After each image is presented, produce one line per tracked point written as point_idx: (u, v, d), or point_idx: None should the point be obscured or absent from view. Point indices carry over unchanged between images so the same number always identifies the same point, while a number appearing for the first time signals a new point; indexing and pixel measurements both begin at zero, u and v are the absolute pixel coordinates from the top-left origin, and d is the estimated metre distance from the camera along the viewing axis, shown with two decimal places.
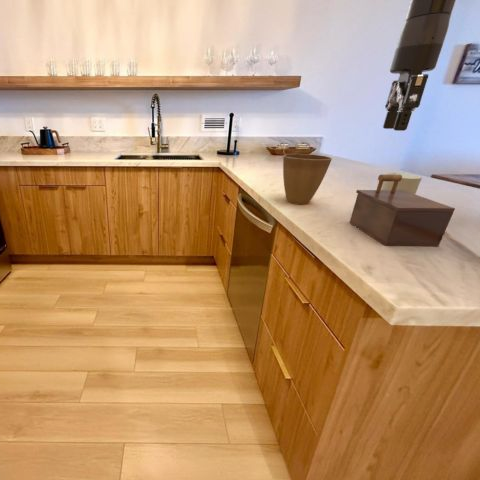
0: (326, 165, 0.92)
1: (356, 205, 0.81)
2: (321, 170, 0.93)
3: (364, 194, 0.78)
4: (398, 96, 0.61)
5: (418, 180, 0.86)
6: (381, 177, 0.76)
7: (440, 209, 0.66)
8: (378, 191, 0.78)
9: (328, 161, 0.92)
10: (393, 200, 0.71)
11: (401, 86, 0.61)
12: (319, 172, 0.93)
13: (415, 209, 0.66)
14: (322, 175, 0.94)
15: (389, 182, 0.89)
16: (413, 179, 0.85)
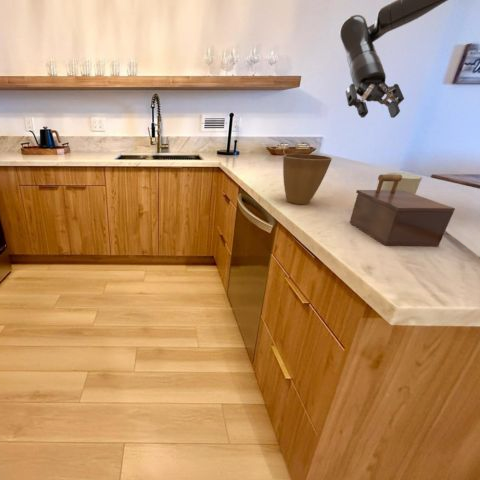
0: (326, 165, 0.92)
1: (356, 205, 0.81)
2: (321, 170, 0.93)
3: (364, 194, 0.78)
4: None
5: (418, 180, 0.86)
6: (381, 177, 0.76)
7: (440, 209, 0.66)
8: (378, 191, 0.78)
9: (328, 161, 0.92)
10: (393, 200, 0.71)
11: (361, 96, 0.84)
12: (319, 172, 0.93)
13: (415, 209, 0.66)
14: (322, 175, 0.94)
15: (389, 182, 0.89)
16: (413, 179, 0.85)
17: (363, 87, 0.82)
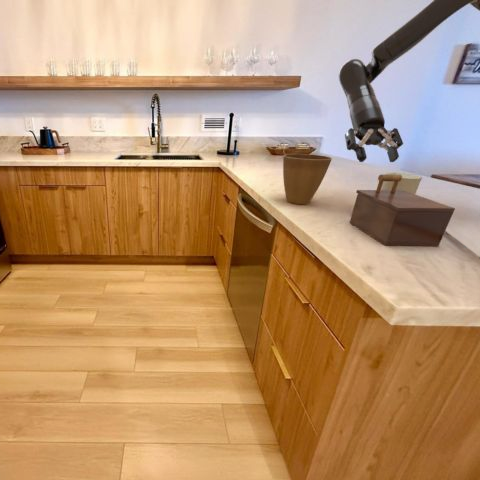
0: (326, 165, 0.92)
1: (356, 205, 0.81)
2: (321, 170, 0.93)
3: (364, 194, 0.78)
4: None
5: (418, 180, 0.86)
6: (381, 177, 0.76)
7: (440, 209, 0.66)
8: (378, 191, 0.78)
9: (328, 161, 0.92)
10: (393, 200, 0.71)
11: None
12: (319, 172, 0.93)
13: (415, 209, 0.66)
14: (322, 175, 0.94)
15: (389, 182, 0.89)
16: (413, 179, 0.85)
17: (362, 131, 0.83)
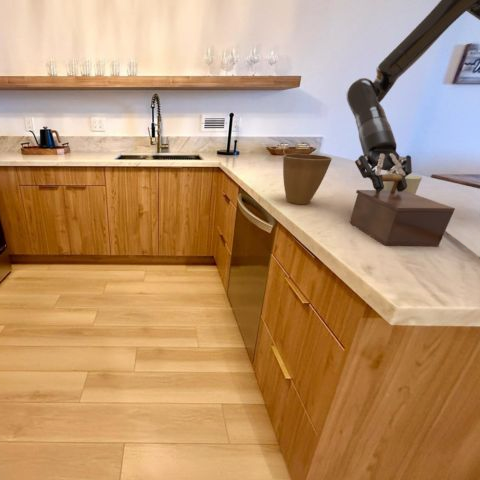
0: (326, 165, 0.92)
1: (356, 205, 0.81)
2: (321, 170, 0.93)
3: (364, 194, 0.78)
4: None
5: (418, 180, 0.86)
6: None
7: (440, 209, 0.66)
8: (378, 191, 0.78)
9: (328, 161, 0.92)
10: (393, 200, 0.71)
11: None
12: (319, 172, 0.93)
13: (415, 209, 0.66)
14: (322, 175, 0.94)
15: (389, 182, 0.89)
16: (413, 179, 0.85)
17: (373, 156, 0.79)
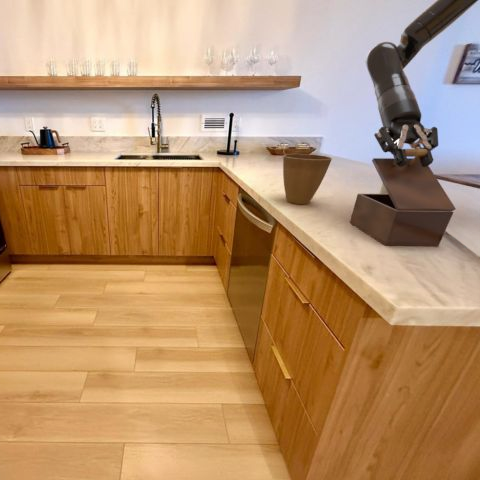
0: (326, 165, 0.92)
1: (356, 205, 0.81)
2: (321, 170, 0.93)
3: (378, 169, 0.73)
4: None
5: None
6: None
7: (440, 209, 0.65)
8: (394, 164, 0.72)
9: (328, 161, 0.92)
10: (401, 188, 0.69)
11: None
12: (319, 172, 0.93)
13: (415, 209, 0.66)
14: (322, 175, 0.94)
15: None
16: None
17: (395, 128, 0.71)
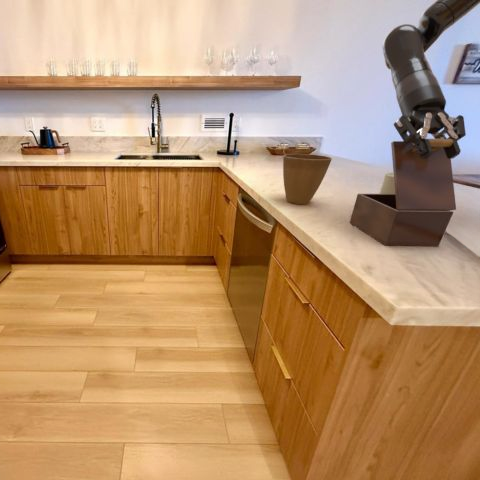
0: (326, 165, 0.92)
1: (356, 205, 0.81)
2: (321, 170, 0.93)
3: (393, 156, 0.67)
4: None
5: None
6: None
7: (440, 209, 0.65)
8: (413, 151, 0.67)
9: (328, 161, 0.92)
10: (410, 183, 0.66)
11: None
12: (319, 172, 0.93)
13: (415, 209, 0.66)
14: (322, 175, 0.94)
15: (389, 182, 0.89)
16: None
17: (417, 116, 0.65)
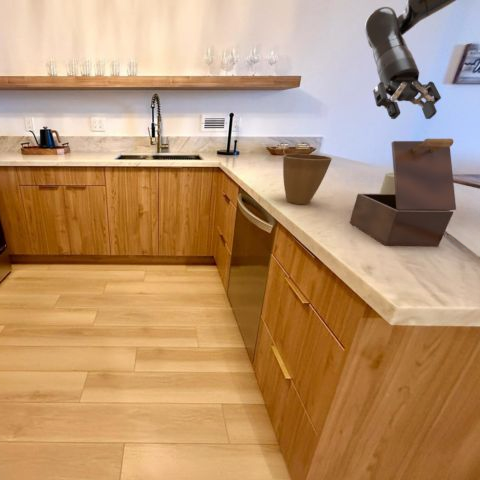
0: (326, 165, 0.92)
1: (356, 205, 0.81)
2: (321, 170, 0.93)
3: (394, 156, 0.67)
4: None
5: None
6: (426, 144, 0.63)
7: (440, 209, 0.65)
8: (414, 151, 0.67)
9: (328, 161, 0.92)
10: (410, 183, 0.66)
11: None
12: (319, 172, 0.93)
13: (415, 209, 0.66)
14: (322, 175, 0.94)
15: (389, 182, 0.89)
16: None
17: (393, 85, 0.74)
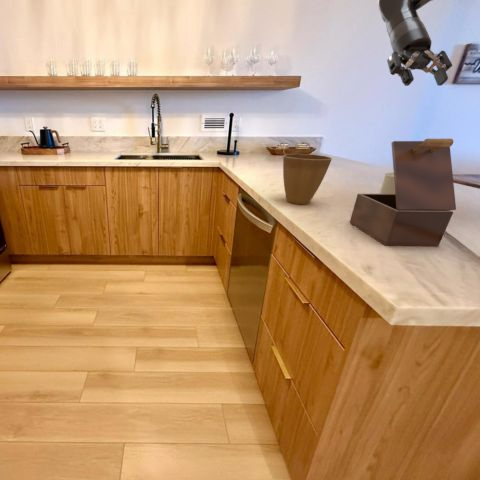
0: (326, 165, 0.92)
1: (356, 205, 0.81)
2: (321, 170, 0.93)
3: (394, 156, 0.67)
4: None
5: None
6: (426, 144, 0.63)
7: (440, 209, 0.65)
8: (414, 151, 0.67)
9: (328, 161, 0.92)
10: (410, 183, 0.66)
11: (404, 64, 0.80)
12: (319, 172, 0.93)
13: (415, 209, 0.66)
14: (322, 175, 0.94)
15: (389, 182, 0.89)
16: None
17: (407, 54, 0.78)
